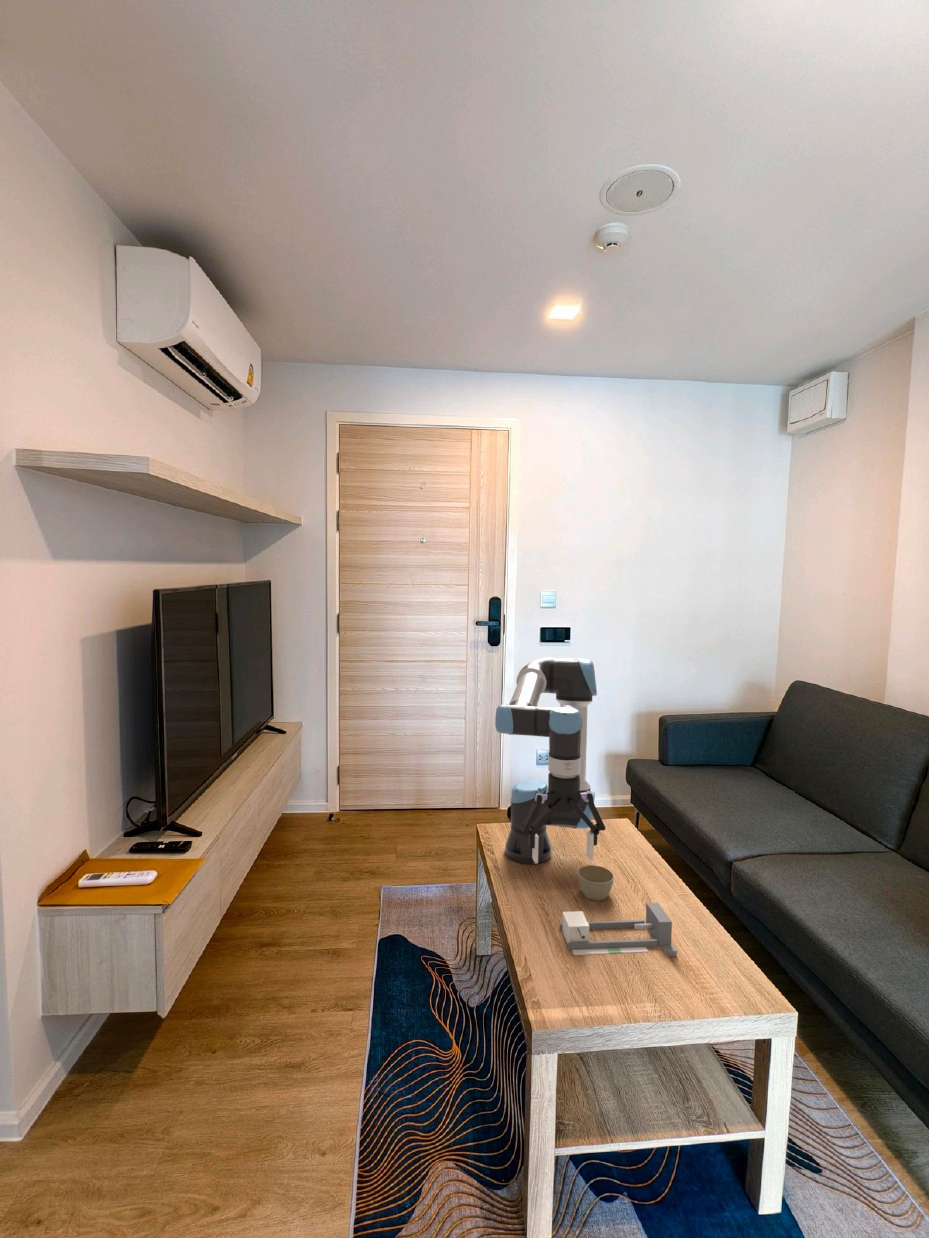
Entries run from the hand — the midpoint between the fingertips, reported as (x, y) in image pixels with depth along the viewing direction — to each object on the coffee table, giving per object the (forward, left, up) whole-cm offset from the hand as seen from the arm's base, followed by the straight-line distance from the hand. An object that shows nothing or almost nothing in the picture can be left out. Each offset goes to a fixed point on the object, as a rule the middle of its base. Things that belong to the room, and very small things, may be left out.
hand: (562, 859), depth 132 cm
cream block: (+1, +4, -21) cm, 21 cm away
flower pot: (-20, +15, -22) cm, 33 cm away
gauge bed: (-1, +13, -22) cm, 25 cm away
